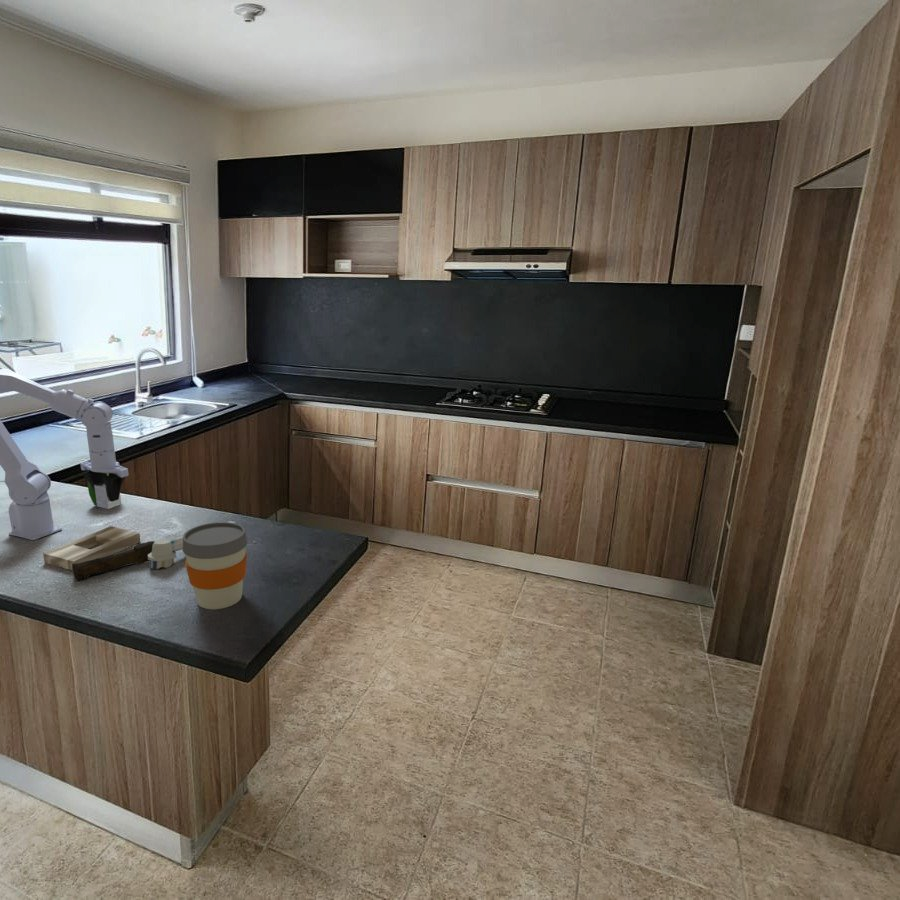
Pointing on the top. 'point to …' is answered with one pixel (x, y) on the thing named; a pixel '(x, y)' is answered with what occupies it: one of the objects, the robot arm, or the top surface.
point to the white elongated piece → (166, 552)
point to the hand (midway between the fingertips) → (108, 498)
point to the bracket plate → (78, 549)
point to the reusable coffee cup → (216, 563)
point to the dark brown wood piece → (113, 561)
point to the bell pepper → (93, 493)
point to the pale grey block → (104, 497)
